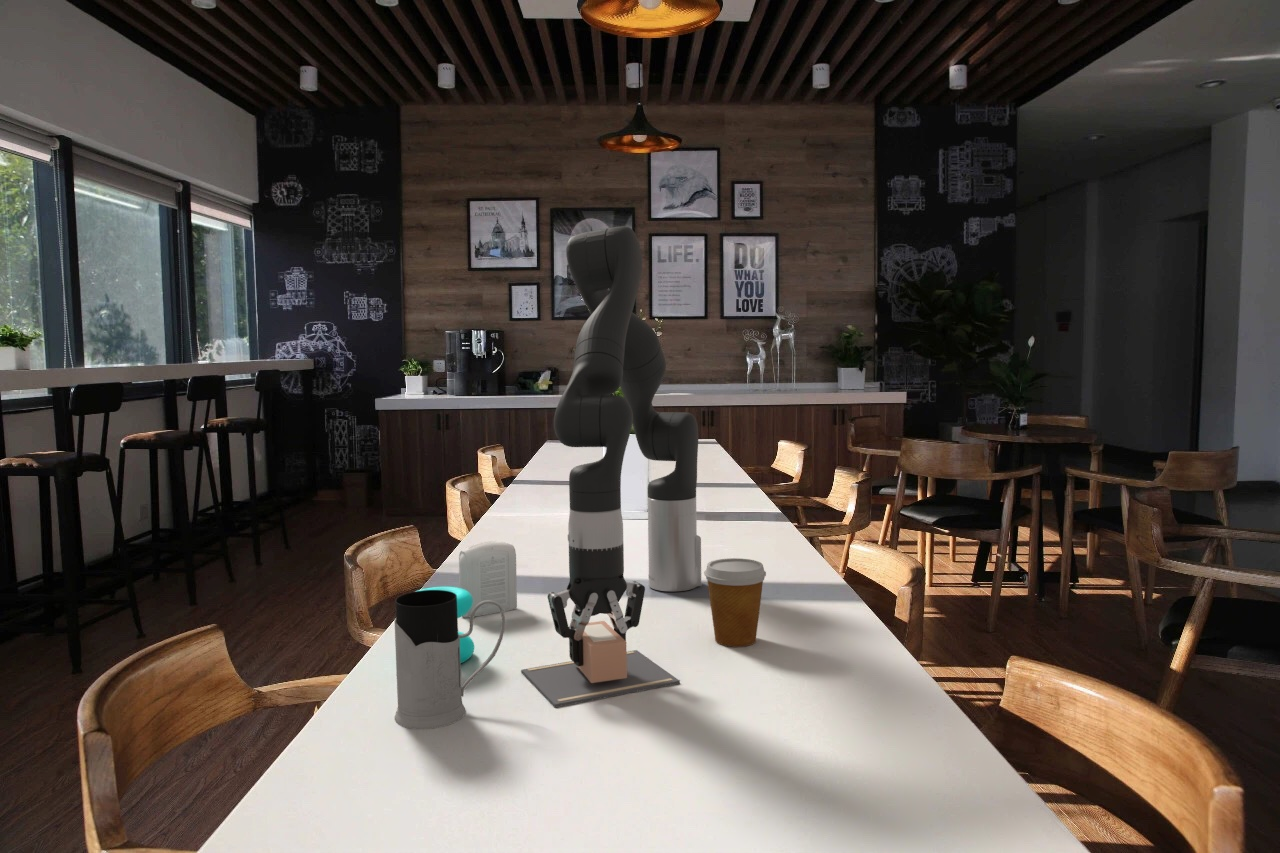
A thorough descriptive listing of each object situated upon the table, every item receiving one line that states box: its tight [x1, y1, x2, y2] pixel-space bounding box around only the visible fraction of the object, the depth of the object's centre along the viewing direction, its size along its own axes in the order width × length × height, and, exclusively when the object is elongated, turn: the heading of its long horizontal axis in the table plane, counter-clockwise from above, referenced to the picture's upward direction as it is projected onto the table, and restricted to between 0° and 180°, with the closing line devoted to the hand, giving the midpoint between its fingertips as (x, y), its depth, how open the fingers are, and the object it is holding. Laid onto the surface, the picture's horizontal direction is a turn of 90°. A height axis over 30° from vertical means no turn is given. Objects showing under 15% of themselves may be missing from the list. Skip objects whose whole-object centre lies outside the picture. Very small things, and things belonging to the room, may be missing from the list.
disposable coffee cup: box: [703, 557, 767, 648], centre depth 140 cm, size 10×10×12 cm
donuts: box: [414, 586, 475, 664], centre depth 134 cm, size 10×10×10 cm
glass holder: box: [393, 590, 506, 730], centre depth 115 cm, size 9×14×15 cm, turn 112°
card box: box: [578, 620, 628, 683], centre depth 126 cm, size 10×5×5 cm, turn 19°
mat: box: [520, 649, 681, 708], centre depth 126 cm, size 18×14×1 cm
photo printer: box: [458, 540, 518, 619], centre depth 158 cm, size 10×4×12 cm, turn 123°
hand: (598, 660), depth 126 cm, fingers closed on card box, 5 cm apart
